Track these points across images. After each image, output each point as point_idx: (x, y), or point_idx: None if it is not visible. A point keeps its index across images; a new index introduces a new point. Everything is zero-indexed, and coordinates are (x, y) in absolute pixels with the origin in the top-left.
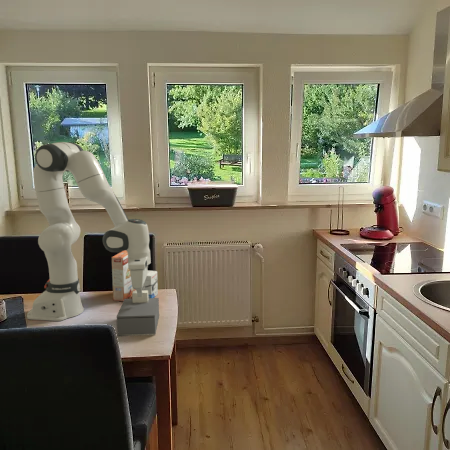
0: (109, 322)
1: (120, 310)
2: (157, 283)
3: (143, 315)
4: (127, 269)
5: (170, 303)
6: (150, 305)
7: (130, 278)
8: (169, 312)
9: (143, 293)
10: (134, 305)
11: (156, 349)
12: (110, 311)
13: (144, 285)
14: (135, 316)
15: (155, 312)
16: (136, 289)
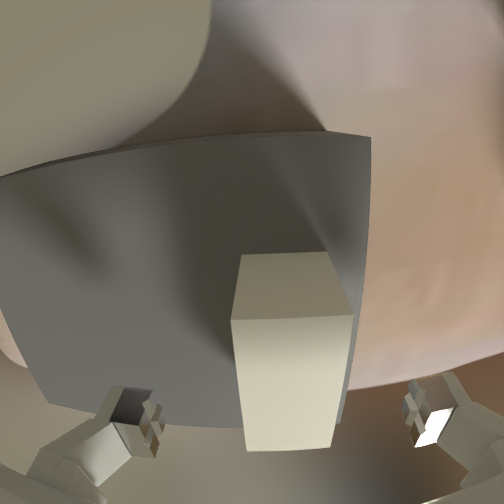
0: (231, 42)
1: (39, 180)
2: None
3: (22, 354)
4: None
5: (463, 355)
6: (181, 396)
7: None
8: (359, 373)
9: (243, 423)
10: (164, 284)
11: (11, 336)
12: (419, 26)
13: (413, 440)
14: (4, 310)
15: (91, 408)
16: (42, 453)
